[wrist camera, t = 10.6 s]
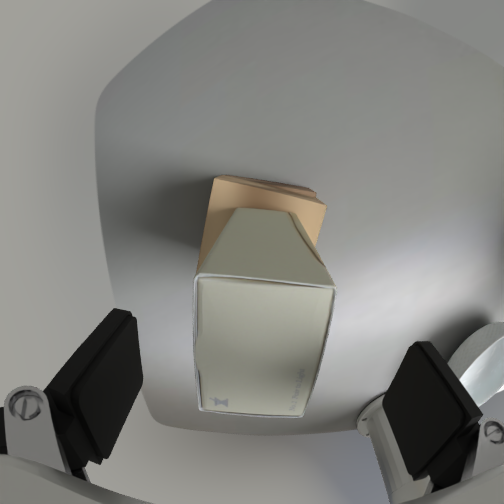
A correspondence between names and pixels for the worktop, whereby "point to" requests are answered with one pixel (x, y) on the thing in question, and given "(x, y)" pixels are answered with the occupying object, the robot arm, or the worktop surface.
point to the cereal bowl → (481, 362)
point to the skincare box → (260, 317)
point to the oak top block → (256, 207)
